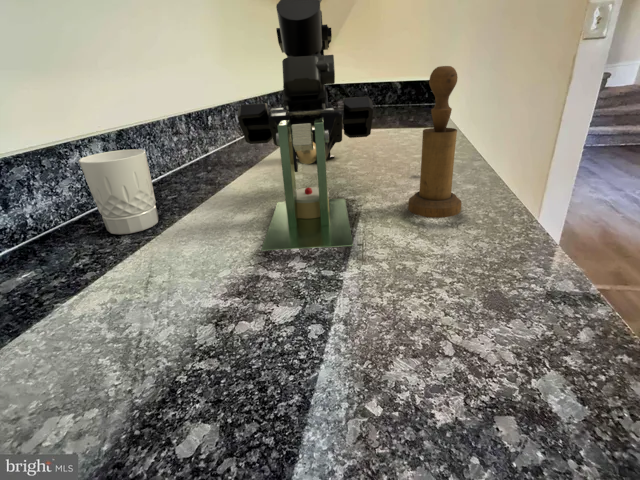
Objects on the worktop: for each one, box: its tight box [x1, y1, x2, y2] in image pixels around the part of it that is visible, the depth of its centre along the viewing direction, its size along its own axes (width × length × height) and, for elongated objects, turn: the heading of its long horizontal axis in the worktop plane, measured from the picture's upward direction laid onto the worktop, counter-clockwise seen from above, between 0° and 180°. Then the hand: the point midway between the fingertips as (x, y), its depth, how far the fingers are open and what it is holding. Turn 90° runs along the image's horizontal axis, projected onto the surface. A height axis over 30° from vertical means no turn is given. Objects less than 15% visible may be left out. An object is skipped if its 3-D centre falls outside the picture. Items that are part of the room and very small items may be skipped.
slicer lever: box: [292, 123, 317, 165], centre depth 46 cm, size 11×3×3 cm, turn 179°
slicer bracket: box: [260, 118, 354, 252], centre depth 44 cm, size 16×10×13 cm, turn 0°
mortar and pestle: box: [407, 65, 462, 219], centre depth 44 cm, size 7×6×18 cm
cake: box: [296, 187, 330, 219], centre depth 48 cm, size 5×5×3 cm
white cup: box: [78, 148, 160, 235], centre depth 50 cm, size 8×8×10 cm
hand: (307, 169), depth 49 cm, fingers closed on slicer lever, 3 cm apart
